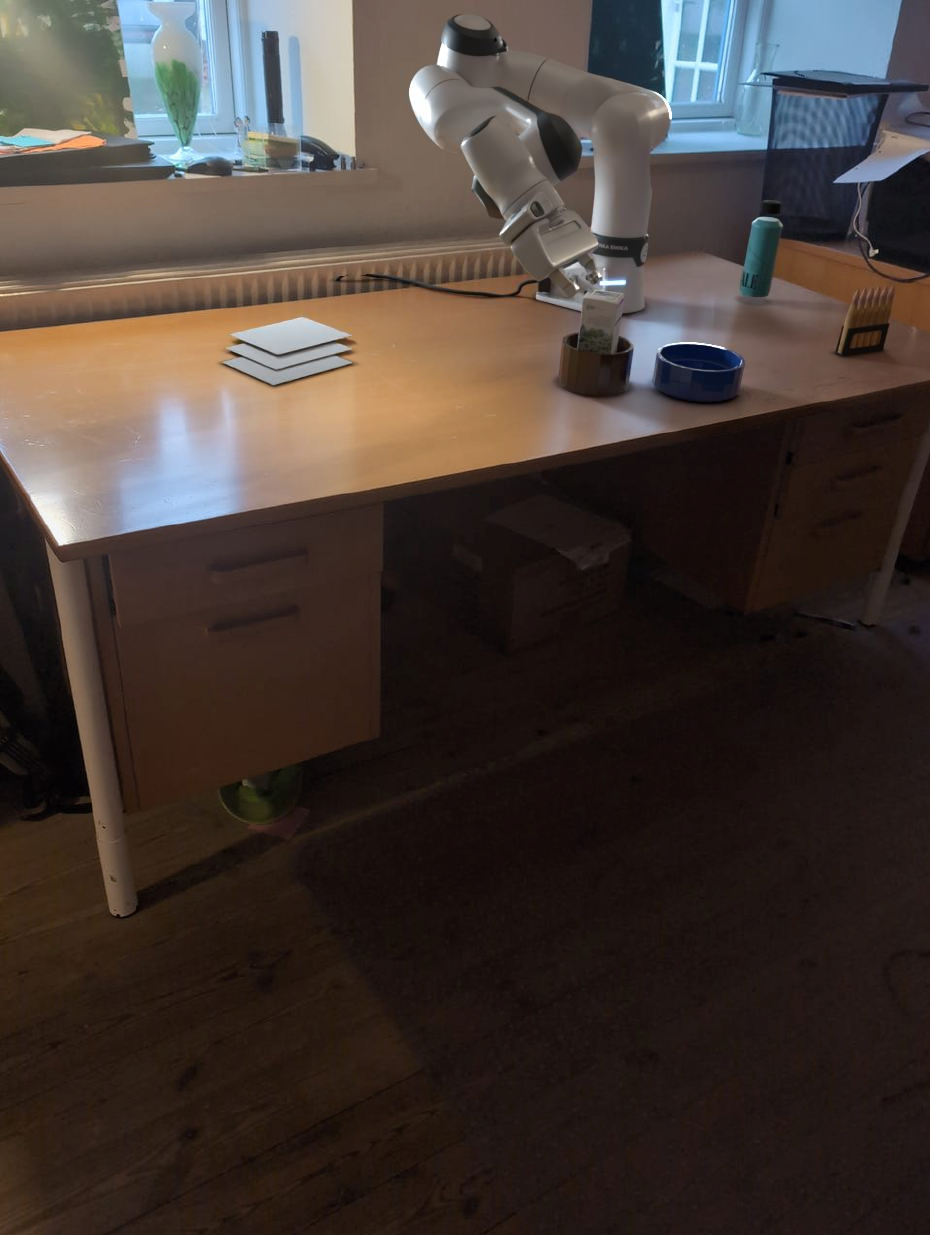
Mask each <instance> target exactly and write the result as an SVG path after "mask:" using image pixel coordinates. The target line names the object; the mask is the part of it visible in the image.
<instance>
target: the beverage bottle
mask: <svg viewBox="0 0 930 1235" xmlns="http://www.w3.org/2000/svg"><path fill="white" fill-rule="evenodd" d="M759 212H760V213H762V214H763V213H764V214H767V215H780V214H781V212H782V202H781V201H778V200H771V199H766V200H765V199H764V200H762V201H761V204H760V208H759ZM783 228H784V225H783V223H782V222H781V220H780V219H779V218H776V217H770V216H759V217H757V218H756V219H755V220H753V221H752V222H751V228H750V234H749V237H748V241H747V247H746V248H747V249H746V253H745V260H744V263H743V269H742V271H741V277H740V282H739V294H740V295H743V296H747V297H751V298H766V297H768V296H769V294H770V292H771V288H772V285H773V284H772V283H773V279H774V274H775V273H774V271H775V268H776V262H777V261H776V260H777V255H778V251H779V246H780V241H781V235H782V231H783Z"/></svg>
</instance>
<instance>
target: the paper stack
mask: <svg viewBox="0 0 930 1235" xmlns="http://www.w3.org/2000/svg"><path fill="white" fill-rule="evenodd" d="M228 335H229V336H231V337H233V338H236V339H238V340H240V341H243V342H244V343H240V344H236V345H232V346H227V347H225V350H229V351H231V352H233V353H236V354H237V355H241V356H239V357H236V358H232V359H229V360H224V361H221V363H222V364H224V365H227V366H228V367H230V368H234V369H235V370H238V371H240V372H242V373H245V374H247V375H249V376H251V377H254V378H256V379H258V380H261V381H263V382H265V383H268V384H270V385H272V386H276V385H279V384H283V383H287V382H291V381H293V380H297V379H301V378H304V377H308V376H311V375H315V374H319V373H322V372H326V371H329V370H332V369H336V368H340V367H343V366H346V365H347V366H348V365H351V364H353V362H352V361H349V360H347V359H345V358H343V357H340V356H337V355H336V354H339V353H343V352H347V351H350V350H353V348H352V347H349V346H346V345H344V344H341V343H339V342H336V341H337V340H341V339H345V338H348V337H352V336H353V334H350V333H347V332H345V331H342V330H339V329H336V328H334V327H331V326H328V325H326V324H323V323H320V322H317V321H315V320H313V319H309V318H306V317H305V316H301V317H297V318H292V319H288V320H283V321H279V322H276V323H271V324H268V325H262V326H257V327H253V328H250V329H246V330H241V331H237V332H233V333H229V334H228Z"/></svg>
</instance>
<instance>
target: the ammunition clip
mask: <svg viewBox="0 0 930 1235" xmlns="http://www.w3.org/2000/svg"><path fill="white" fill-rule="evenodd" d="M895 285H896V284H892V286H890V289H889V287H888V286H889V285H885V286H884V288H883V289H881V286H880V285H879V286H878V287H877V288H876V290H875V289H874V286H872V287H871V288H870V289H869V291H868V290H867V287H864V288H863V290H862V292H861V290H860V288H857V289H856V291H855V292H854V294H853V297H852V299H851V304H850V306H849V309H848V311H847V314H846V318H845V321H844V325H841V330H840V333H839V336H838V340H837V343H836V347H835V351H834V354H836V355H839V356H841V357H846V356H847V357H848V356H852V355H853V356H855V355H859V354H867V353H874V352H880V351H881V352H882V351H883V350H884V348H885V344H886V341H887V336H888V333H889V328H890V322H889V321H890V317H891V314H892V310H893V303H894V298H895V294H896V293H895V292H896V286H895Z"/></svg>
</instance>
